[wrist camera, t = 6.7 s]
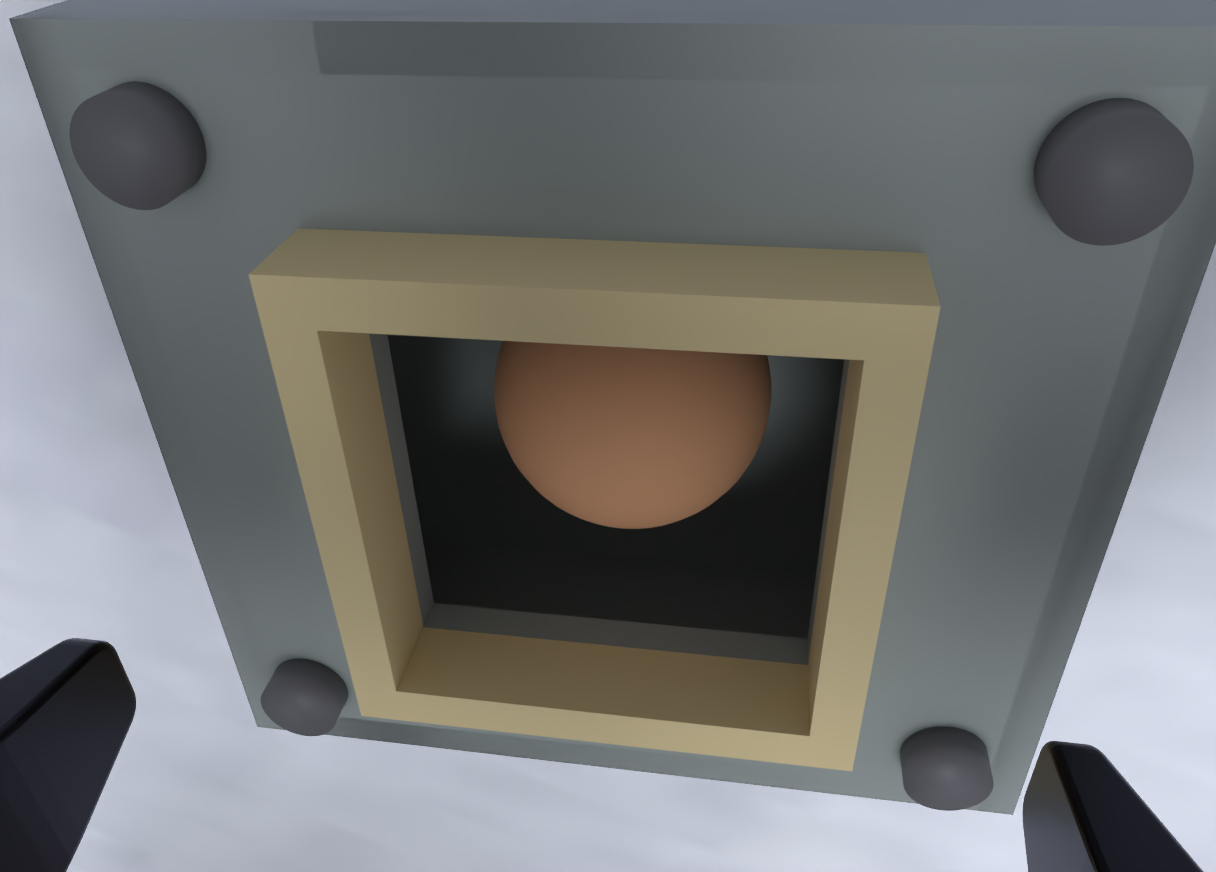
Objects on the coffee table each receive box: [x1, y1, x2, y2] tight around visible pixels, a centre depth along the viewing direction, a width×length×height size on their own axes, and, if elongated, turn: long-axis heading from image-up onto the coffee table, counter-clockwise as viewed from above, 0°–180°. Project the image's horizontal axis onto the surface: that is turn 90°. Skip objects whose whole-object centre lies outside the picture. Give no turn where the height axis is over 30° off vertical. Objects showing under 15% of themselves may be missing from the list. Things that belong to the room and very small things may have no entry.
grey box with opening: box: [9, 0, 1216, 815], centre depth 14 cm, size 12×11×6 cm
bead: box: [494, 341, 771, 529], centre depth 14 cm, size 4×4×4 cm
